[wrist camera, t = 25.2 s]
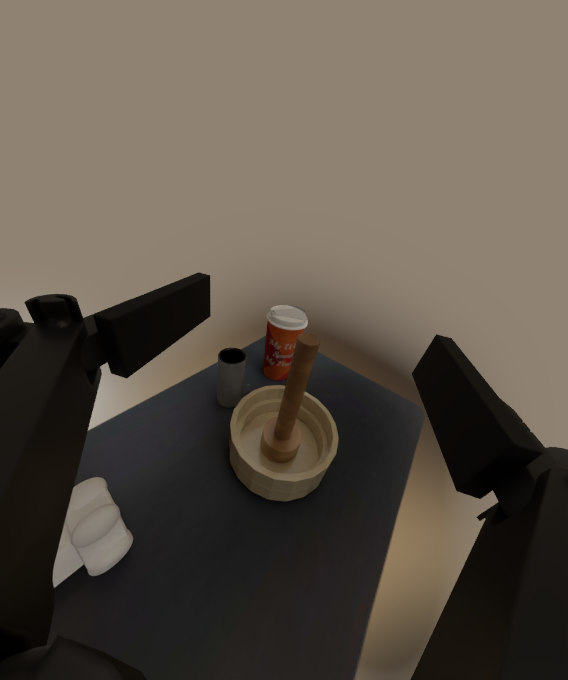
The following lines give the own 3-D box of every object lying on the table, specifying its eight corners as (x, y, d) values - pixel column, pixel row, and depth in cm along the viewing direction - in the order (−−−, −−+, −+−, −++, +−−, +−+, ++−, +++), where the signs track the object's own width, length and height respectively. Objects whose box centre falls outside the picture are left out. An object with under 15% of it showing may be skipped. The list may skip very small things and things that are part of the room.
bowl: (333, 428, 41) (343, 406, 38) (314, 526, 28) (328, 505, 25) (255, 397, 44) (259, 373, 41) (206, 472, 31) (206, 447, 28)
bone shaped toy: (-151, 834, 12) (-343, 909, 8) (-130, 656, 16) (-250, 642, 12) (144, 559, 23) (129, 528, 19) (111, 493, 27) (93, 455, 23)
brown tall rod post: (302, 436, 37) (338, 335, 27) (291, 470, 32) (330, 362, 22) (269, 422, 38) (291, 320, 28) (253, 453, 33) (274, 342, 23)
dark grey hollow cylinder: (243, 406, 41) (248, 363, 36) (217, 409, 40) (219, 364, 34) (239, 388, 45) (244, 346, 39) (216, 390, 43) (217, 347, 38)
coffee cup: (261, 385, 47) (272, 322, 39) (255, 360, 53) (264, 302, 45) (298, 383, 49) (316, 324, 41) (289, 360, 56) (302, 305, 48)
